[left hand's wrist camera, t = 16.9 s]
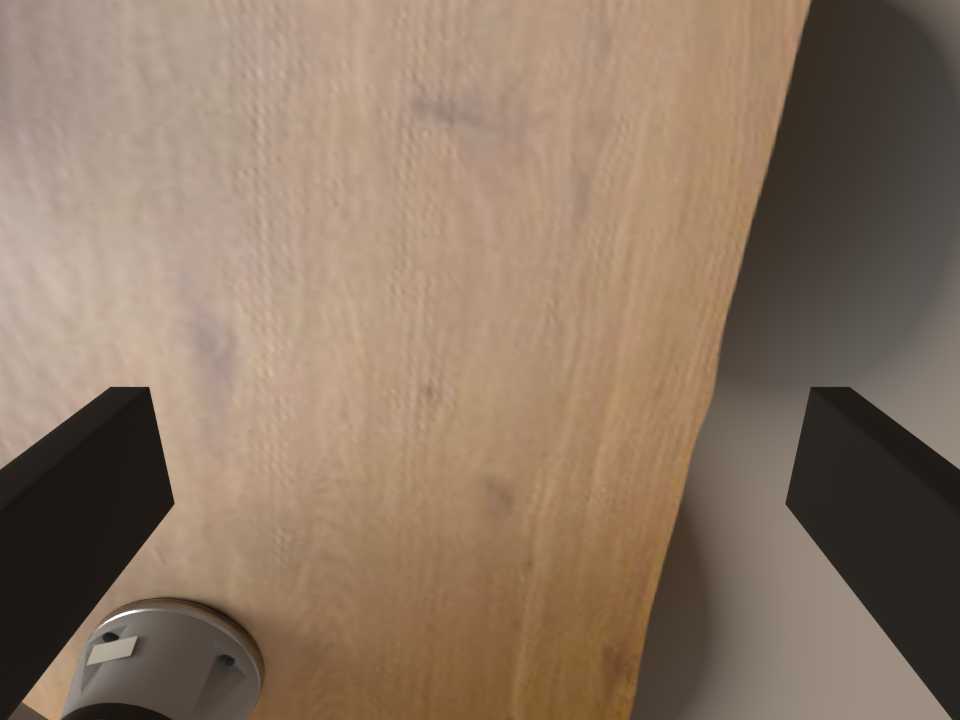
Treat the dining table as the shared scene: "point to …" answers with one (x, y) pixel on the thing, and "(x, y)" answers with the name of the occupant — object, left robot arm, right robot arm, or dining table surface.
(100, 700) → the left robot arm
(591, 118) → the dining table surface
